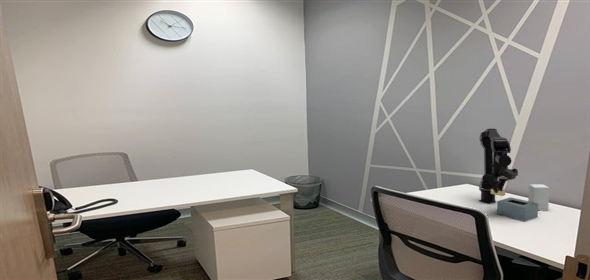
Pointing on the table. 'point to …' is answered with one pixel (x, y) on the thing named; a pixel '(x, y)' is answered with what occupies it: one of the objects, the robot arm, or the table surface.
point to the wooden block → (498, 192)
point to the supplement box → (539, 195)
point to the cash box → (517, 209)
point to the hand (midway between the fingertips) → (498, 192)
